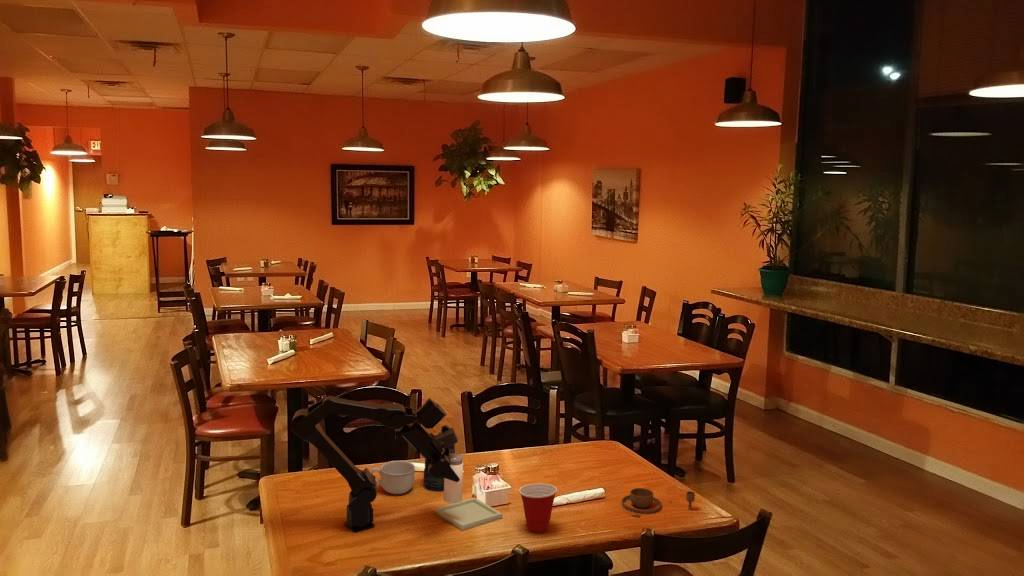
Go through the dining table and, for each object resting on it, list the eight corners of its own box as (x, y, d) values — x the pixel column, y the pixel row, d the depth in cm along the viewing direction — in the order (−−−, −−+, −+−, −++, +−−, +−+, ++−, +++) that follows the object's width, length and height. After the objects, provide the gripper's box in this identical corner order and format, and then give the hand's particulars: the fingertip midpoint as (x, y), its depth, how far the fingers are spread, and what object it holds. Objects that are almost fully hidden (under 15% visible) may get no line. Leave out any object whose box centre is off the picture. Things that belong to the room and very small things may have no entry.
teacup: (418, 485, 248) (418, 461, 247) (410, 498, 238) (410, 473, 237) (375, 482, 250) (375, 458, 249) (366, 496, 239) (366, 471, 238)
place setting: (638, 493, 247) (639, 475, 247) (696, 510, 235) (697, 492, 234) (609, 511, 234) (610, 492, 233) (670, 530, 221) (671, 510, 221)
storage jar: (460, 484, 250) (461, 439, 248) (442, 494, 242) (443, 448, 240) (435, 477, 255) (436, 433, 253) (417, 487, 247) (417, 442, 245)
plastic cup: (533, 517, 227) (534, 477, 225) (563, 528, 220) (565, 487, 218) (509, 529, 218) (510, 488, 217) (540, 541, 212) (541, 499, 210)
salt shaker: (453, 504, 218) (454, 460, 216) (439, 499, 221) (441, 456, 219) (465, 499, 222) (467, 456, 220) (452, 494, 225) (453, 451, 223)
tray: (462, 530, 217) (462, 525, 217) (435, 513, 228) (435, 508, 228) (502, 518, 225) (502, 513, 225) (474, 502, 236) (474, 497, 236)
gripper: (442, 430, 209) (481, 470, 211) (440, 410, 227) (476, 446, 230) (412, 458, 209) (451, 497, 211) (412, 436, 227) (449, 472, 230)
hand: (458, 477), depth 221 cm, fingers closed on salt shaker, 5 cm apart
